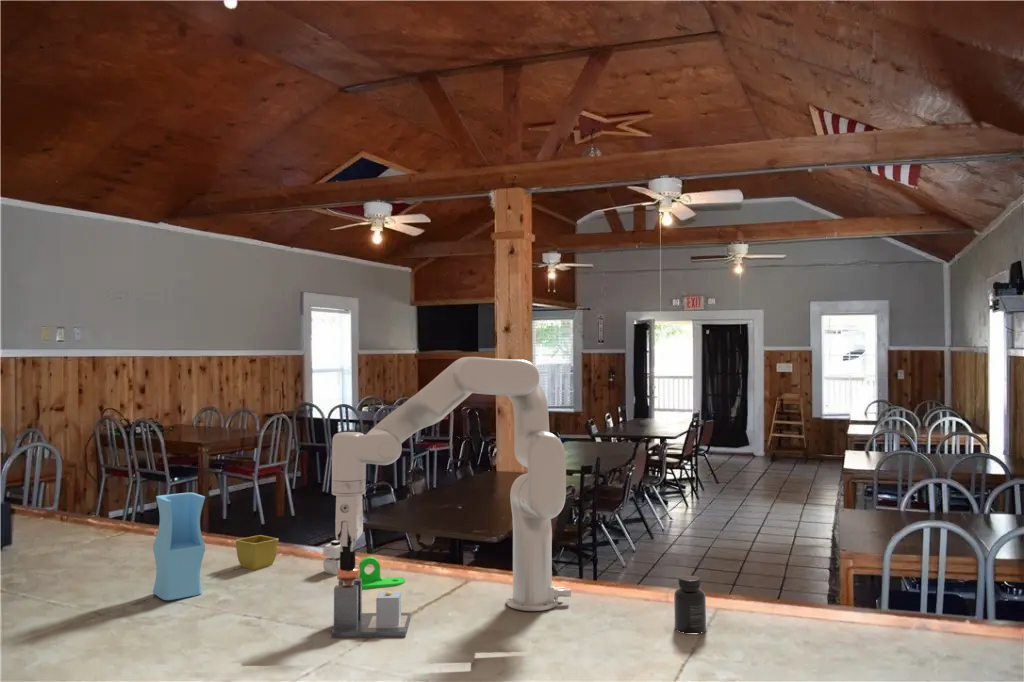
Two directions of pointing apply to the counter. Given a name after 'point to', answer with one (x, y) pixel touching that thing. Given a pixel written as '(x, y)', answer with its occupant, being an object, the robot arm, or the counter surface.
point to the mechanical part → (376, 576)
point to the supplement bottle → (690, 605)
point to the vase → (178, 546)
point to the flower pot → (256, 551)
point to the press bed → (360, 616)
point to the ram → (348, 575)
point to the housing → (388, 608)
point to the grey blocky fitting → (334, 552)
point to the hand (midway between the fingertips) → (347, 568)
